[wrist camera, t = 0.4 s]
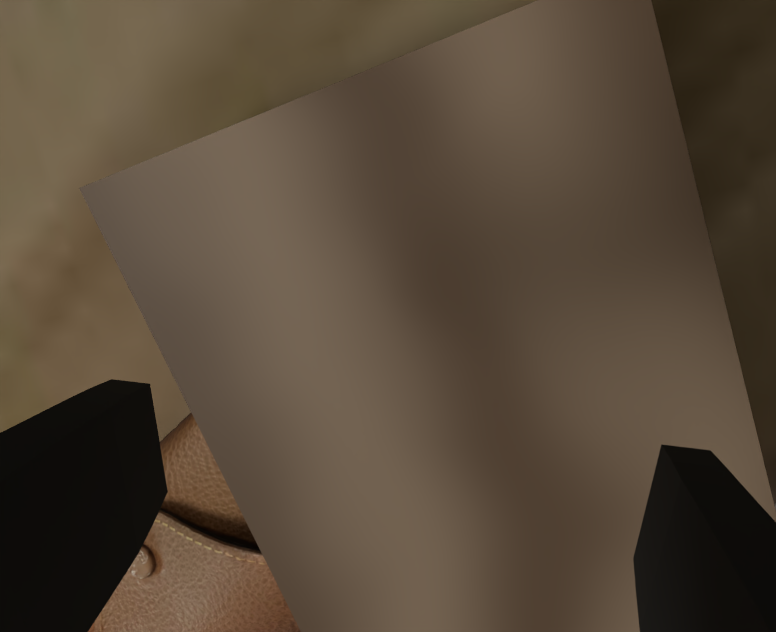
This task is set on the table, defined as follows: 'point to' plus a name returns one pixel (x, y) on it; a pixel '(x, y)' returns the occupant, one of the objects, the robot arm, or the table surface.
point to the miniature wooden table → (448, 323)
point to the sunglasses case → (196, 557)
